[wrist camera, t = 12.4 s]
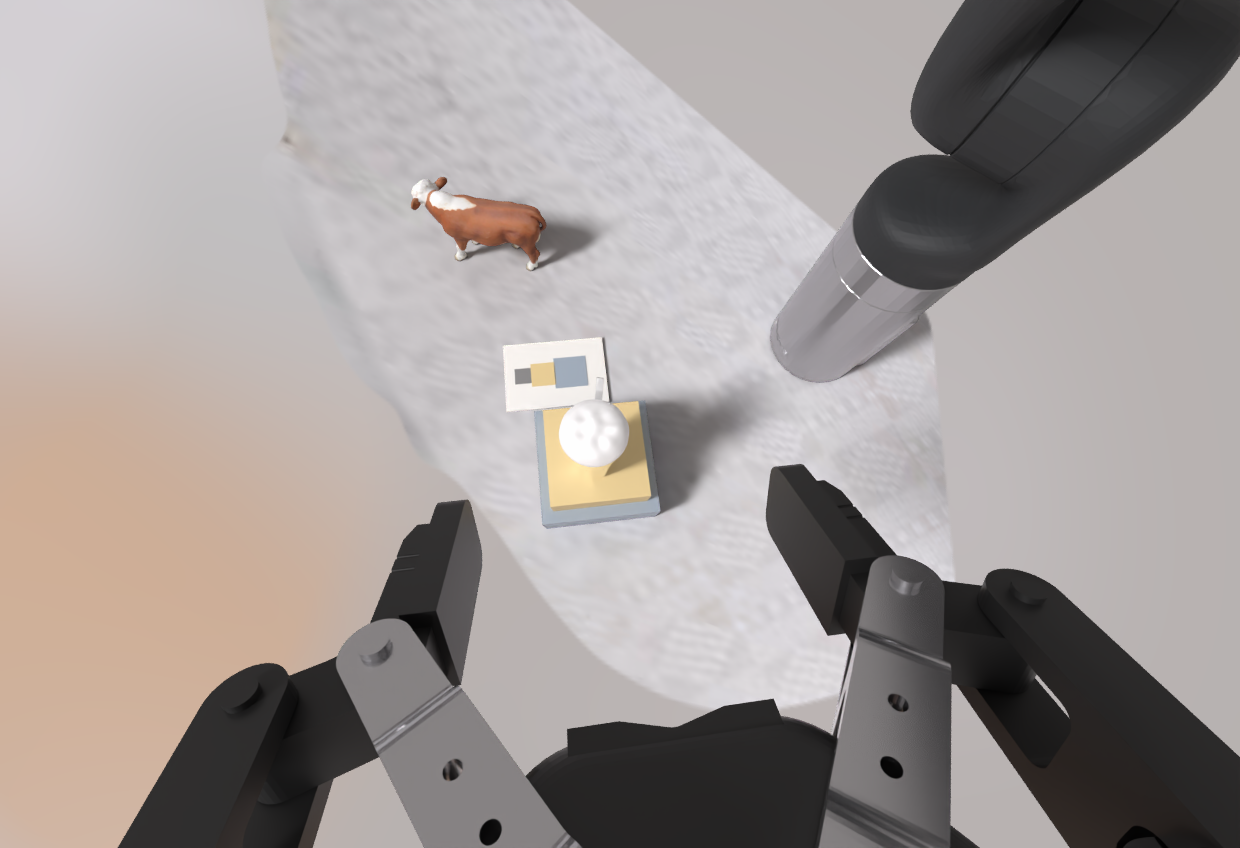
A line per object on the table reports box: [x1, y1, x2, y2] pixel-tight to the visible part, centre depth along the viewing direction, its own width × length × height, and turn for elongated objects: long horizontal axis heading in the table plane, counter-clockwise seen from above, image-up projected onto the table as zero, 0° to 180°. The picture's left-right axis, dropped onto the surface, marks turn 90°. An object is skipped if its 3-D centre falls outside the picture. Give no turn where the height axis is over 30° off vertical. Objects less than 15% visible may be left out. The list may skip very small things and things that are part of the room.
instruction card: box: [503, 337, 609, 412], centre depth 49 cm, size 10×7×1 cm
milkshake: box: [559, 377, 629, 479], centre depth 35 cm, size 4×5×10 cm
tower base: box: [534, 401, 660, 529], centre depth 43 cm, size 10×10×7 cm
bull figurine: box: [411, 177, 546, 271], centre depth 49 cm, size 4×14×8 cm, turn 78°
